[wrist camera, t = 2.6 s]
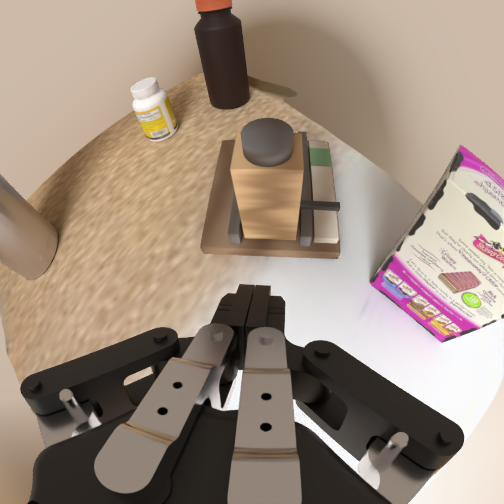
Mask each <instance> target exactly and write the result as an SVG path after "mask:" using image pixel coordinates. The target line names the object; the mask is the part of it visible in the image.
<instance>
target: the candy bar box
mask: <svg viewBox="0 0 504 504" xmlns="http://www.w3.org/2000/svg"><path fill="white" fill-rule="evenodd" d="M370 284H371V285H372V286H373V287H375V288H376V289H377V290H379V291H380V292H381V293H382V294H384V295H385V296H386V297H387V298H389V299H390V300H391V301H393V302H394V303H395V304H396V305H398V306H399V307H400V308H401V309H403V310H404V311H405V312H406V313H407V314H409V315H410V316H411V317H412V318H413V319H415V320H416V321H417V322H418V323H419V324H420V325H422V326H423V327H424V328H425V329H426V330H428V331H429V332H430V333H431V334H432V335H433V336H434V337H436V338H437V339H438V340H439V341H440V342H441V343H443V342H445V341H448V340H451V339H454V338H456V337H460V336H462V335H465V334H467V333H470V332H472V331H475V330H477V329H480V328H483V327H485V326H487V325H489V324H491V323H494V322H496V321H499V320H501V319H503V318H504V180H503V179H502V178H501V177H500V176H499V175H498V174H497V173H495V172H494V171H493V170H492V169H491V168H490V167H489V166H488V165H486V164H485V163H484V162H482V161H481V160H480V159H479V158H478V157H476V156H475V155H474V154H473V153H471V152H470V151H469V150H468V149H466V148H465V147H464V146H462V145H460V146H459V148H458V149H457V151H456V153H455V155H454V156H453V158H452V160H451V162H450V164H449V165H448V167H447V169H446V170H445V172H444V174H443V176H442V177H441V179H440V181H439V182H438V184H437V185H436V187H435V189H434V190H433V192H432V194H431V195H430V196H429V198H428V199H427V201H426V202H425V204H424V205H423V207H422V208H421V210H420V211H419V213H418V214H417V215H416V217H415V218H414V220H413V221H412V223H411V224H410V226H409V227H408V228H407V230H406V231H405V232H404V234H403V235H402V237H401V238H400V239H399V241H398V242H397V243H396V245H395V246H394V248H393V249H392V250H391V252H390V253H389V255H388V256H387V257H386V259H385V260H384V262H383V263H382V265H381V266H380V267H379V269H378V270H377V272H376V273H375V275H374V276H373V278H372V279H371V281H370Z"/></svg>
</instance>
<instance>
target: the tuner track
mask: <svg viewBox="0 0 504 504" xmlns="http://www.w3.org/2000/svg"><path fill="white" fill-rule="evenodd" d="M298 133H302V148H303V166H304V172H303V182H302V191H301V200H309V201H328V202H336V196H335V188H334V180H333V172H332V163H331V157H330V150H329V144H328V142H325V141H310V140H309V141H307V137H306V132H298ZM234 145H235V140H223V141H222V145H221V150H220V154H219V158H218V163H217V167H216V171H215V176H214V180H213V185H212V190H211V195H210V199H209V204H208V209H207V214H206V219H205V224H204V230H203V235H202V240H201V246H200V248H201V249H202V251H203V253H205V254H229V255H252V256H277V257H302V258H327V259H338V256H339V254H340V240H339V227H338V216H337V211H327V210H307V209H299V218H298V226H297V234H296V240H277V239H249V238H245V237H244V232H243V227H242V223H241V218H240V213H239V209H238V204H237V199H236V195H235V190H234V185H233V181H232V176H231V171H230V167H231V161H232V156H233V151H234Z"/></svg>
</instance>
